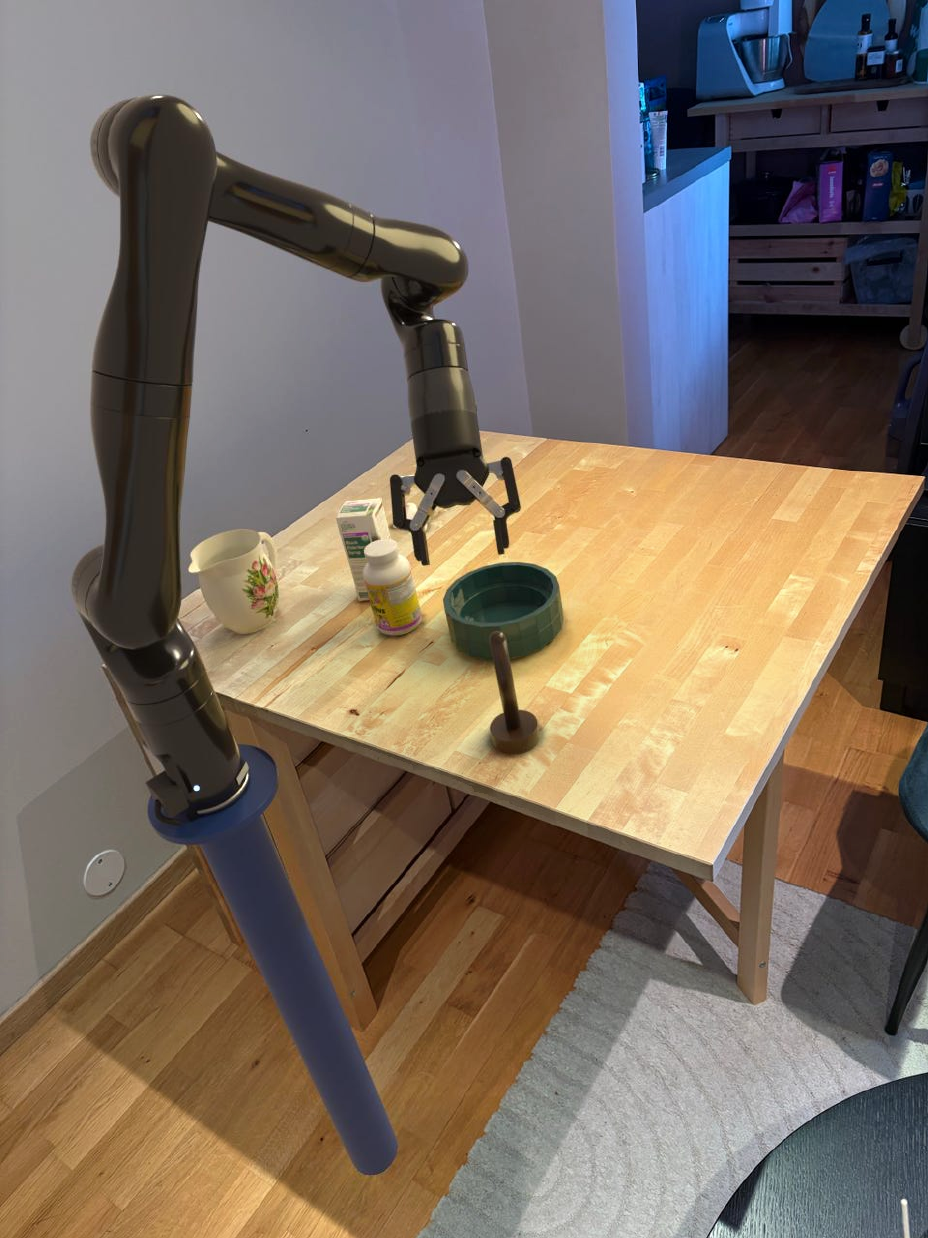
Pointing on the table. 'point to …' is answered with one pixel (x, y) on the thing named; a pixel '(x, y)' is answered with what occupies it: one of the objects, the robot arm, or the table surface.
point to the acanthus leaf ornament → (412, 511)
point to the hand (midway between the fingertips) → (463, 559)
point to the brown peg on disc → (510, 706)
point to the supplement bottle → (391, 588)
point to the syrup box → (361, 535)
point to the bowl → (504, 608)
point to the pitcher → (238, 578)
